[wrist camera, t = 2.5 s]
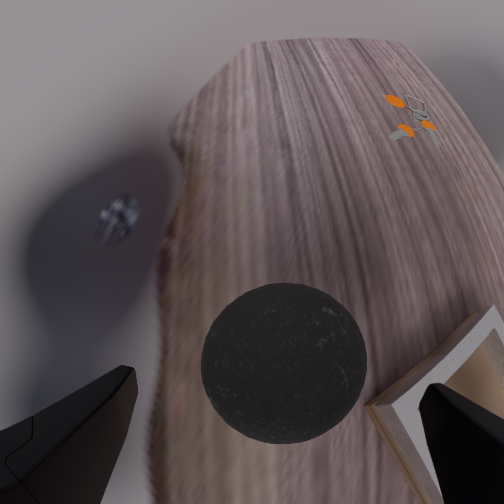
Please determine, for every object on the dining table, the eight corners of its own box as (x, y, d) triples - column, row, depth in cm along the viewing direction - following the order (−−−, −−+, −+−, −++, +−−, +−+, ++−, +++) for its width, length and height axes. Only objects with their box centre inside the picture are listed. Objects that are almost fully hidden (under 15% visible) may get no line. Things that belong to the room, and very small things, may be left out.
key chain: (381, 86, 34) (383, 81, 33) (430, 107, 33) (432, 102, 33) (382, 140, 28) (385, 134, 27) (443, 166, 27) (446, 160, 26)
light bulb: (246, 317, 18) (263, 220, 9) (328, 364, 17) (422, 309, 8) (193, 396, 16) (147, 379, 7) (280, 446, 15) (341, 487, 6)
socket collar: (439, 522, 11) (457, 527, 9) (374, 406, 15) (391, 404, 13) (526, 419, 14) (544, 415, 12) (476, 314, 18) (493, 304, 16)
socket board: (430, 522, 11) (438, 525, 10) (363, 406, 16) (370, 405, 15) (520, 420, 14) (528, 419, 14) (468, 315, 19) (476, 310, 18)
